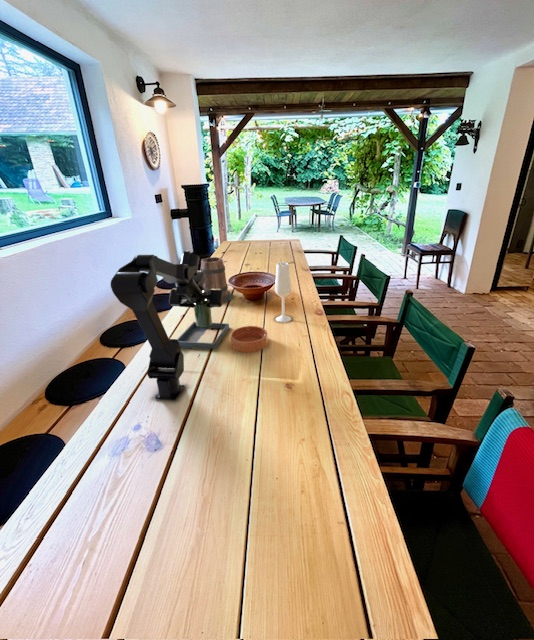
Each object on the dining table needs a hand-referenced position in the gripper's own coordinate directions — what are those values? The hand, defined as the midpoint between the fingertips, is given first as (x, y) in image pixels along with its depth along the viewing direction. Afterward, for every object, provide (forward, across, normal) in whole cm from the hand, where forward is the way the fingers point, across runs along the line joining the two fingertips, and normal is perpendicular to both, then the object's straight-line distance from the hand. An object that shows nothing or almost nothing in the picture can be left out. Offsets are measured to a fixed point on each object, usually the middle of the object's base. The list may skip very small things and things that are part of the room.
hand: (203, 306), depth 120 cm
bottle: (+4, 0, +6) cm, 7 cm away
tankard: (+41, +9, -23) cm, 48 cm away
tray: (+8, +1, +10) cm, 13 cm away
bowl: (+5, -18, +13) cm, 22 cm away
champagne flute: (+22, -28, -4) cm, 36 cm away
